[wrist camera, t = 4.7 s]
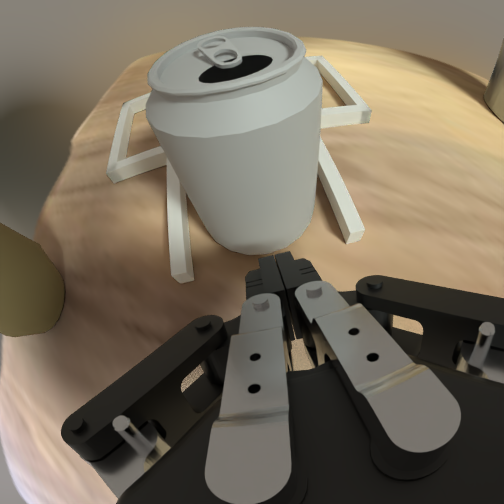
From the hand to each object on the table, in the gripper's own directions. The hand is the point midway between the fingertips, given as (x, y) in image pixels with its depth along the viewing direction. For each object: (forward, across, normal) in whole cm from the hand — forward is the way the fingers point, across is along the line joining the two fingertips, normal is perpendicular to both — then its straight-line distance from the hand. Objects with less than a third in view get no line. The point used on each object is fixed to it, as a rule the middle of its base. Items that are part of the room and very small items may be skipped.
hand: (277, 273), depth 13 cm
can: (+7, 0, -2) cm, 7 cm away
